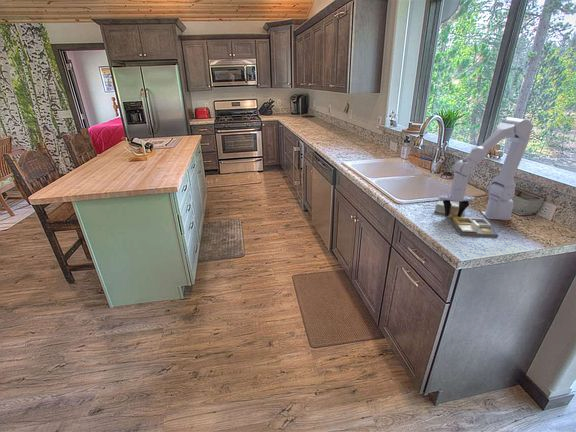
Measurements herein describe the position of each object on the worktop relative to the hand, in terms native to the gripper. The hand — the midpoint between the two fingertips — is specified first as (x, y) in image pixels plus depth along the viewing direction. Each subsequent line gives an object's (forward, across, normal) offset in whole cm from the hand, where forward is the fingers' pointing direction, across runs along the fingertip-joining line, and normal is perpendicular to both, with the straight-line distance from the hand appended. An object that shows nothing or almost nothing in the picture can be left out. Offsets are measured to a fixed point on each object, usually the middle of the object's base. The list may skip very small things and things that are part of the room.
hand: (452, 215), depth 140 cm
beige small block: (+2, 0, 0) cm, 2 cm away
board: (+1, -5, +10) cm, 11 cm away
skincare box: (-1, +4, -10) cm, 11 cm away
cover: (0, -1, +14) cm, 14 cm away
